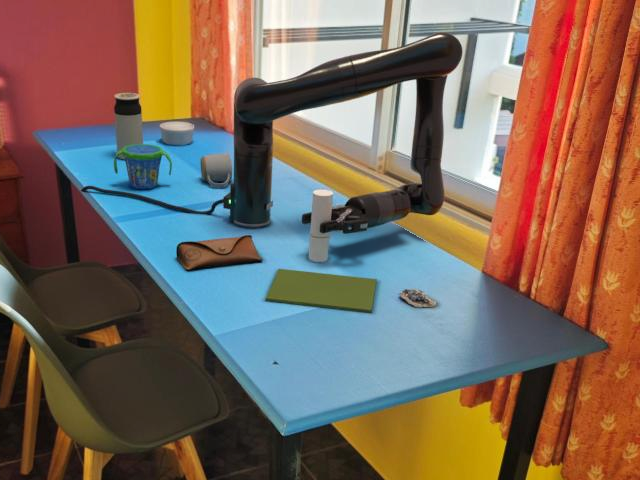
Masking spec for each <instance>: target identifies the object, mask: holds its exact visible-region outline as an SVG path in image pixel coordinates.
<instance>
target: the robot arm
mask: <svg viewBox="0 0 640 480" xmlns="http://www.w3.org/2000/svg"><path fill="white" fill-rule="evenodd" d="M463 50H464V49H463V45H462V43H461V41H460V39H458V38H457V37H456V36H455V35H454V34H453V33H452V34H451V33H450V32H446V31H439V32H434V33H432V34H430V35H428V36H426V37H424V38H420V39H418V40H416V41H413V42H410V43H407V44H405V45H402V46H399V47H393V48H387V49H379V50H378V49H377V50H372V51H366V52H360V53H356V54H351V55H350V54H349V55H347V56H343V57H339V58H335V59H331V60H328V61H326V62H323V63H320V64H318V65H317V66H315V67H313V68H311V69H309V70H307V71H305V72H303V73H301V74H299V75H296V76H295V77H291V78H286V79H283V80H277V81H272V82H267V81H266V80H264V79H263V78H260V77H248V78H245V79H243V81H241V82H240V83H239V84H238V85H237V87H236V89H235V91H234V96H233V182H232V183H230V185H229V193H227V194H226V195H224V196H223V197H222V199H219V200H216V201H214V202H213V203H212V205H211V207H210V209H209V210H204V211H201V210H194V209H191V208H187V207H183V206H178V205H174V204H170V203H167V202H165V201H161V200H159V199H155V198H151V197H149V196H148V197H147V196H145V195H141V194H138V193H133V192H128V191H121V190H114V189H105V188H102V187H101V188H100V187H97V186H94V185H87V186H84V187H82V188H81V190H80V192H82V193H84V192H86V191H87V190H88V191H89V190H93V191H96V192H98V193H103V194H109V195H119V196H126V197H131V198H136V199H139V200H142V201H145V202H148V203H153V204H155V205H160V206H162V207H165V208H168V209H171V210H175V211H180V212H185V213H188V214H194V215H207V216H208V215H211V214H213V213H214V212H215V209H216V207H217V206H218V205H221V204H222V208H223V209H225V210H229V223H232V224H234V225H236V226H239V227H242V228H250V229H257V228H258V229H259V228H263V227H266V226H269V225H270V224H271V220H272V219H271V215H272V214H271V210H272V209H271V208H272V207H274V200H272V187H273V185H272V181H273V162H274V161H273V159H274V158H273V157H274V129H273V128H274V121H276V120H278V119H282V118H284V117H287V116H290V115H292V114H294V113H298V112H302V111H305V110H306V111H307V110H313V109H317V108H323V107H326V106H331V105H335V104H336V105H337V104H340V103H345V102H349V101H353V100H356V99H360V98H363V97H366V96H369V95H372V94H375V93H378V92H380V91H384V90H385V89H388V88H391V87H393V86H395V85H399V84H401V83H405V82H410V81H415V86H416V90H415V91H416V93H415V94H416V99H415V101H416V102H415V114H414V115H415V116H414V127H413V136H412V144H411V154H410V169H411V171H413V172H414V173H416V174H418V175H419V176H420V177H419V178H420V182H410V183H405V184H403V185H400V186H398V187H396V188H394V189H390V190H384V191H379V192H378V191H377V192H370V193H366V194H362V195H361V194H360V195H357V196H352V197H350V198H349V199H347V201H346V203H344V205H343V204H338V205H336V206H332V212H331V221H327V222H323V223H321V224H320V233H322V234H323V233H328V232H330V233H332V232H337V233H339V232H342V234H344V235H348V234H349V235H350V234H356V233H361V232H366V231H368V229H372V228H376V227H379V226H383V225H385V224H388V223H392V222H395V221H399V220H403V219H404V218H406V217H408V215H409V214H417V215H423V216H434V215H436V214H437V213H439V212H440V211H441V210H442V207H443V205H444V202H445V186H444V177H443V172H442V158H443V148H444V136H445V134H444V133H445V131H444V130H445V127H444V126H445V125H444V111H443V110H444V108H443V107H444V94H445V88H446V83H447V79H448V75H450V74H452V73H453V72H454V71H455V70H456V69H457V68H458V66H459V64H460V63H461V60H462V58H463ZM311 215H312V211H310V212H306V213H303V214H301V223H302V224H303V225H309V224H311Z"/></svg>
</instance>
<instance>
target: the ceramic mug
mask: <svg viewBox="0 0 640 480" xmlns="http://www.w3.org/2000/svg"><path fill="white" fill-rule="evenodd" d="M200 173H201V178H202V180H203V181H204V182H207V183H208V184H209V185H210V186H211V187H212V188H214V189H215V188H216V189H223V188H225V187H227V186H228V185H229V183H230V182H232V180H233V163H232V157H231V154H230V153H229V152H223V153H221V152H220V153H214V154H206V155H203V156H201V157H200ZM219 182H221V183H219Z"/></svg>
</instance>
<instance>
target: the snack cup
mask: <svg viewBox="0 0 640 480" xmlns="http://www.w3.org/2000/svg"><path fill="white" fill-rule="evenodd" d="M119 154H123V155H124V157H125V160H124V161H125V166H126V171H127V177H128V182H129V185H130V186H131V187H132V188H134V189H137V190H146V189H148V190H151V189H154V188H155V187H157V186H158V183H159V175H160V166H161V161H162V158H163V156H164V157H166V159H167V161H168V162H169V171H168V172H169V173H168V175H169V176H171V173H172V171H173V170H172V169H173V163H172V159H171V157H170V154H169V153H168V152H166V151H165V150H163V148H161V147H160V146H159V145H155V144H150V143H149V144H148V143H143V144H134V145H129V146H126V147H124V148H123V149H122V150H120V151H119V152H118V153H117V152H116V154H115V156H114V159H113V168H114V172H115V174H118V172H119V171H118V170H119V169H118V162H117V159H118V155H119Z"/></svg>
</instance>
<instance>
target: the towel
mask: <svg viewBox="0 0 640 480" xmlns="http://www.w3.org/2000/svg"><path fill="white" fill-rule="evenodd" d="M377 281H378V279H377V278H369V277H361V276H353V275H352V276H351V275H341V274H330V273H323V272H315V271H314V272H313V271H304V270H295V269H285V268H278V270H277V271H276V274H275V276H274V278H273V281H272V282H271V285H270V288H269V290H268V292H267V295H266V297H265V301H266V302H273V303H282V304H290V305H291V304H292V305H299V306H307V307H308V306H309V307H318V308H326V309H333V310H334V309H335V310H343V311H353V312H361V313H371V314H372V311H373V305H374V299H375V292H376V287H377Z"/></svg>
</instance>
